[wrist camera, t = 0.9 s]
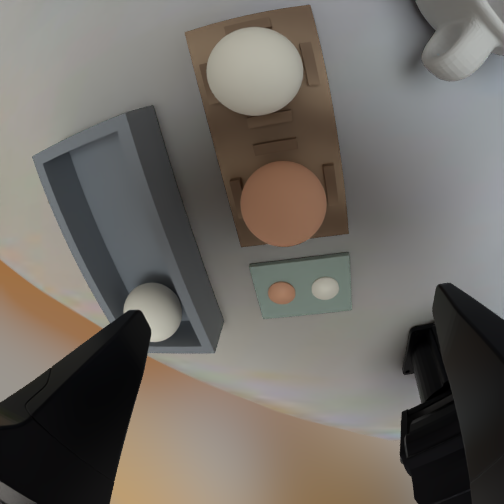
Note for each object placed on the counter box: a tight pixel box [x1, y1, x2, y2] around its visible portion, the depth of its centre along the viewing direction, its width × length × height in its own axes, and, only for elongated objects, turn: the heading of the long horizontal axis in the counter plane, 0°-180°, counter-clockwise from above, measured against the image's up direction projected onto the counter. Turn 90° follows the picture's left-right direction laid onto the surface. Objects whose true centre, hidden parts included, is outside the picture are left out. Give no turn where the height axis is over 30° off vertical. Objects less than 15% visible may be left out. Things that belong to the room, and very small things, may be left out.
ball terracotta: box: [240, 161, 327, 247], centre depth 16 cm, size 4×4×4 cm
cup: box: [415, 0, 504, 81], centre depth 8 cm, size 11×8×8 cm
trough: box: [32, 105, 224, 353], centre depth 21 cm, size 18×8×4 cm, turn 12°
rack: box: [185, 5, 349, 247], centre depth 17 cm, size 14×7×2 cm, turn 12°
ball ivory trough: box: [123, 283, 182, 342], centre depth 22 cm, size 4×4×4 cm
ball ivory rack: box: [206, 27, 303, 116], centre depth 13 cm, size 4×4×4 cm
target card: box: [249, 252, 352, 319], centre depth 23 cm, size 5×7×1 cm
